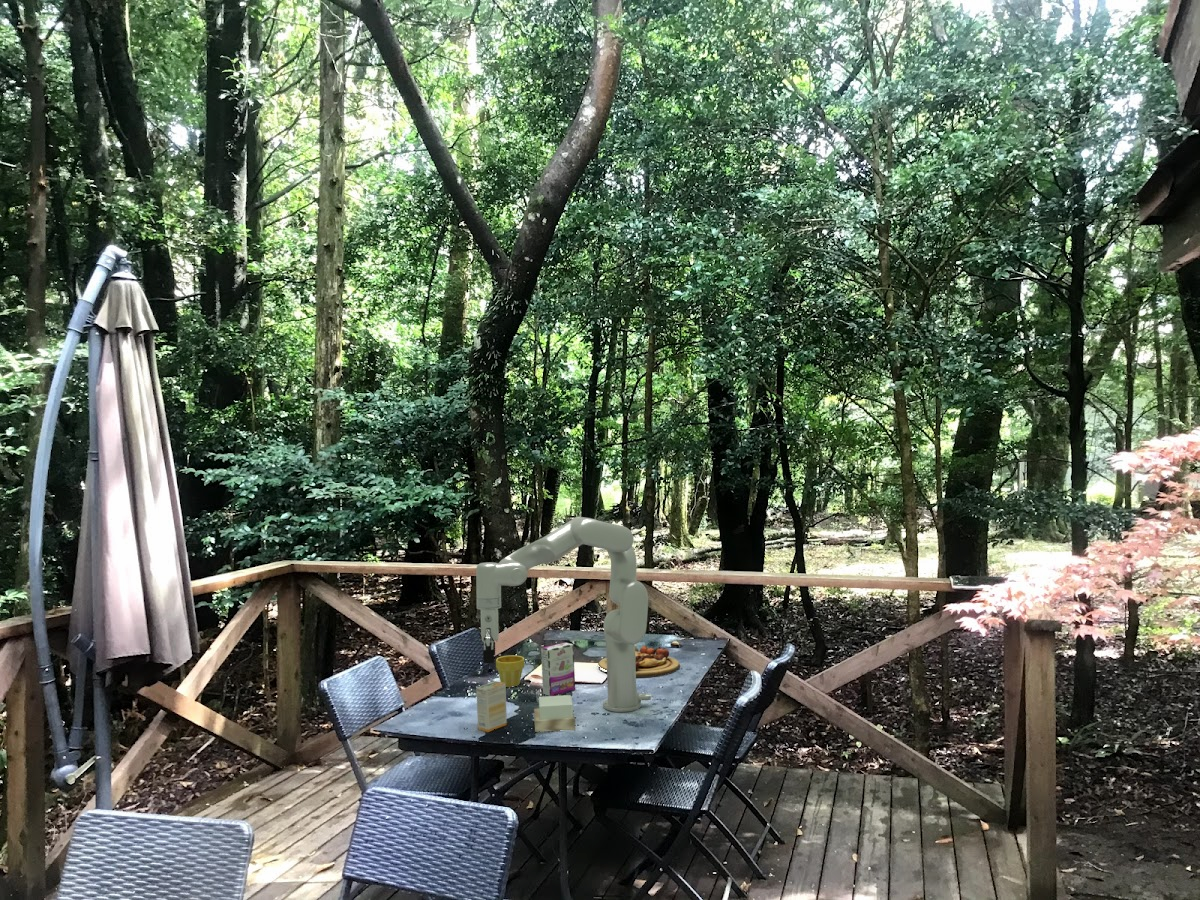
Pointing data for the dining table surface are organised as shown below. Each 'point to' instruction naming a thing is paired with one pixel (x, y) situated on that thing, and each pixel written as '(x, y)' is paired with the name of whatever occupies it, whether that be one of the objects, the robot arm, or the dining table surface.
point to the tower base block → (553, 723)
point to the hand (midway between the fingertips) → (489, 659)
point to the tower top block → (555, 707)
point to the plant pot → (510, 669)
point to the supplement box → (491, 706)
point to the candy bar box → (558, 669)
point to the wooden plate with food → (651, 662)
